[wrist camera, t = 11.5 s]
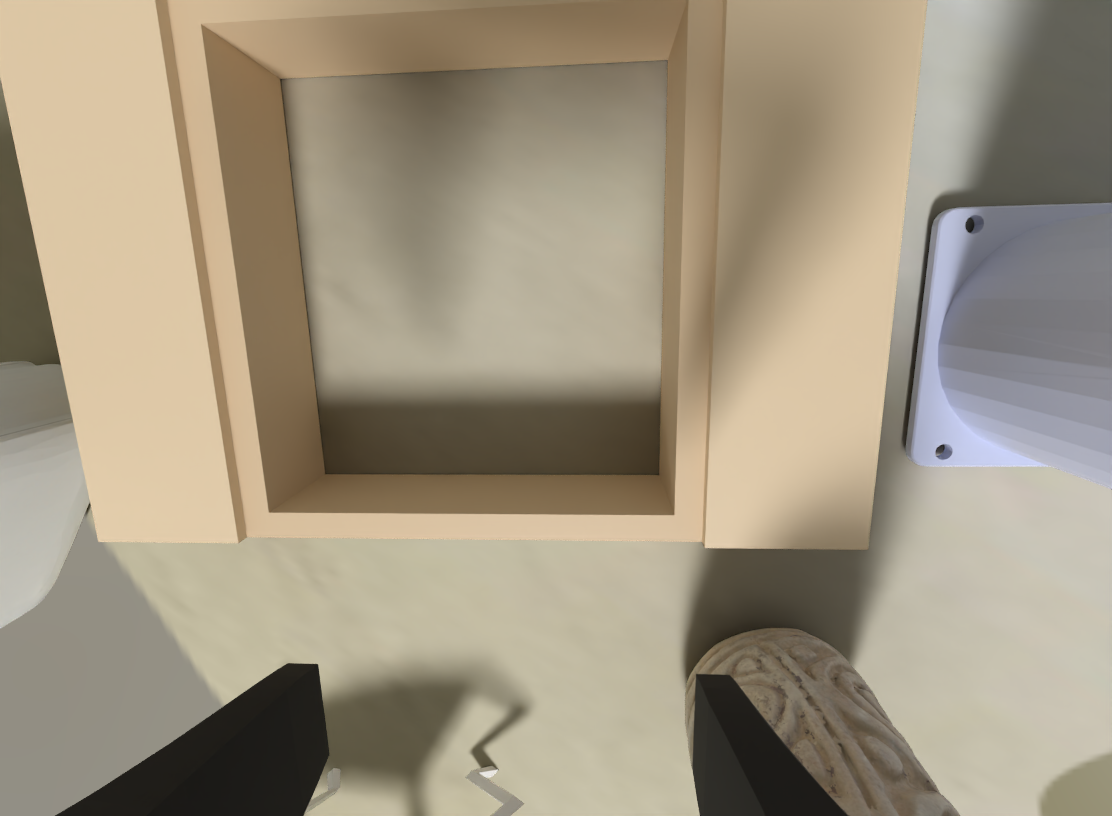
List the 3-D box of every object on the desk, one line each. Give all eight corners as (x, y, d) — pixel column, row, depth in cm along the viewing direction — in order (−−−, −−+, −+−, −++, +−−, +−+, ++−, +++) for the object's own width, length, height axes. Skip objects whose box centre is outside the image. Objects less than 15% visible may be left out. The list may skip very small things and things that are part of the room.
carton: (850, 20, 15) (935, -70, 12) (811, 497, 18) (868, 549, 15) (118, 58, 17) (-19, -10, 13) (192, 494, 20) (98, 541, 16)
